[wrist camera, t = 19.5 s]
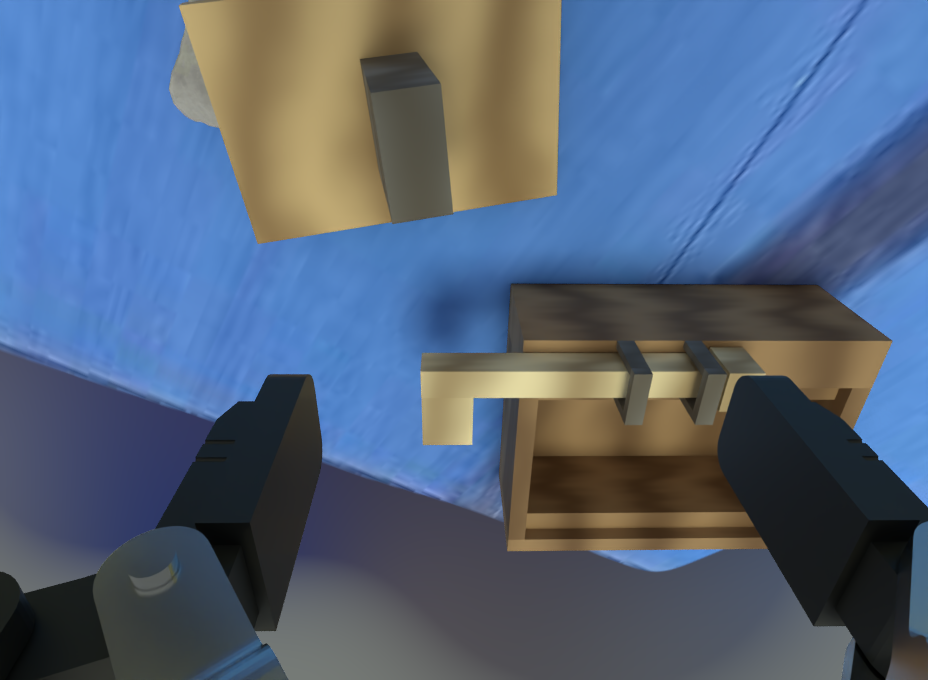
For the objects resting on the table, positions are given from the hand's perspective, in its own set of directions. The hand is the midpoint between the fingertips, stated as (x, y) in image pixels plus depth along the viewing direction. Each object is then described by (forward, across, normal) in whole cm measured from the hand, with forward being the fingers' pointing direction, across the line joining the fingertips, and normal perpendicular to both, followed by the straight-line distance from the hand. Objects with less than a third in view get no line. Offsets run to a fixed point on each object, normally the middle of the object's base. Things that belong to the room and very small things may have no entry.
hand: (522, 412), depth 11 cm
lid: (+26, +4, -2) cm, 26 cm away
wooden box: (+28, -14, +19) cm, 37 cm away
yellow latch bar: (+20, -7, +13) cm, 25 cm away
